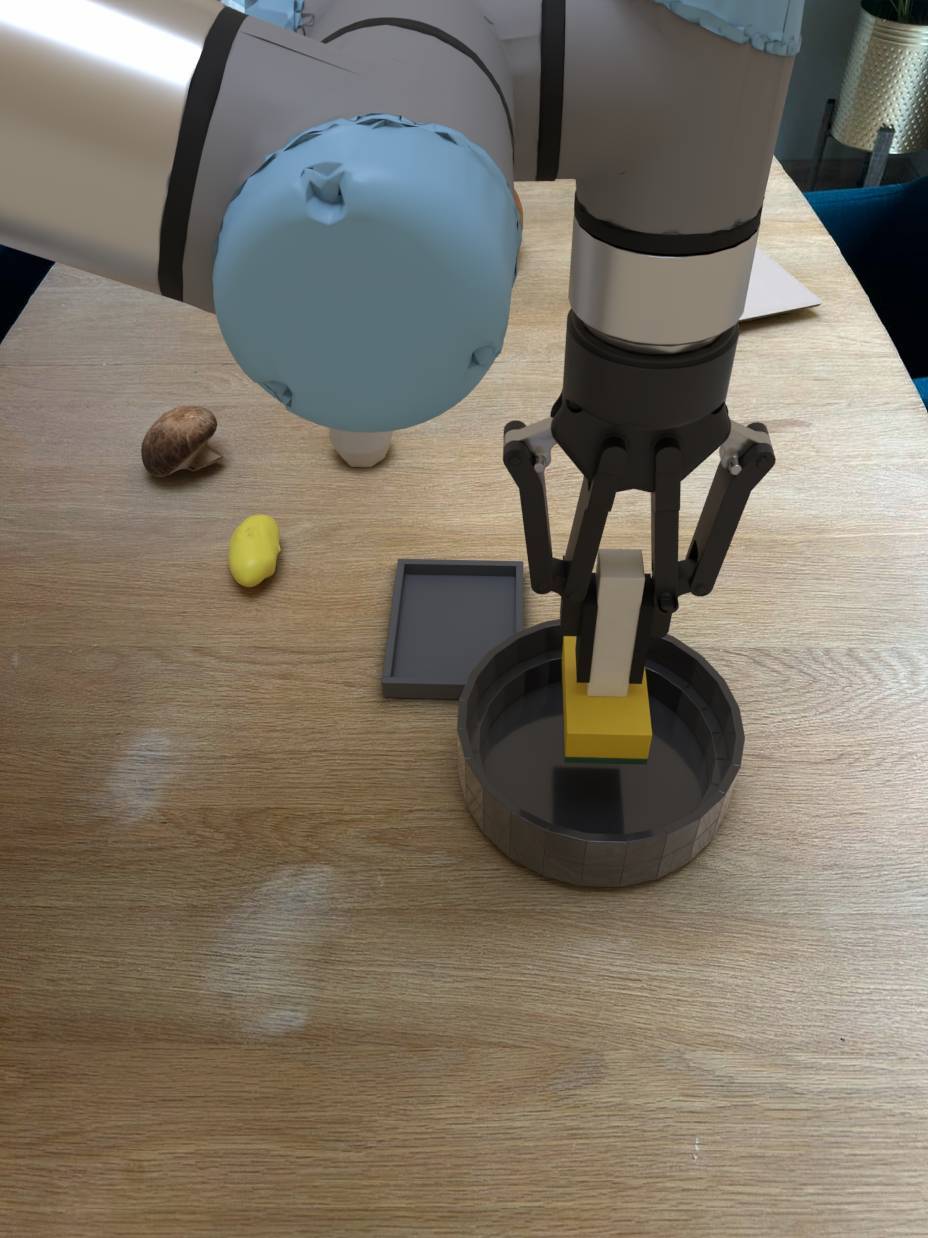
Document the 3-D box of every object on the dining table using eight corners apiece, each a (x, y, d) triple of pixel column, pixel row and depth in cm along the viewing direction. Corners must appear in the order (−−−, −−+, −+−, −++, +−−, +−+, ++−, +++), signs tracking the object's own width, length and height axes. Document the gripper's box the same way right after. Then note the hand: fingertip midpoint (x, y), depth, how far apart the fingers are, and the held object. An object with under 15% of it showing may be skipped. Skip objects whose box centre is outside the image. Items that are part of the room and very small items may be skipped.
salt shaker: (325, 444, 95) (307, 320, 85) (382, 430, 96) (371, 306, 87) (343, 479, 91) (327, 353, 82) (402, 464, 92) (393, 339, 83)
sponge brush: (646, 765, 61) (675, 616, 51) (564, 763, 61) (577, 615, 52) (636, 666, 66) (660, 515, 57) (561, 664, 67) (573, 514, 57)
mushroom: (251, 440, 90) (200, 389, 87) (191, 505, 88) (137, 455, 85) (227, 437, 97) (178, 389, 94) (170, 497, 95) (119, 450, 92)
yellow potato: (292, 535, 86) (285, 500, 83) (272, 601, 80) (264, 566, 78) (244, 533, 86) (236, 498, 83) (221, 599, 81) (211, 564, 78)
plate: (666, 349, 106) (669, 331, 104) (594, 270, 118) (595, 253, 116) (820, 317, 110) (825, 300, 108) (734, 244, 122) (738, 227, 120)
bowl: (404, 767, 69) (399, 712, 65) (584, 634, 77) (590, 579, 73) (601, 951, 60) (610, 902, 55) (782, 777, 68) (802, 723, 64)
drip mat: (522, 701, 73) (522, 686, 72) (383, 697, 73) (381, 682, 72) (522, 575, 82) (523, 560, 81) (399, 573, 82) (397, 558, 81)
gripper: (816, 269, 46) (728, 623, 63) (479, 268, 46) (482, 619, 63) (853, 358, 41) (746, 718, 57) (472, 355, 41) (478, 712, 58)
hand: (608, 665), depth 60 cm, fingers closed on sponge brush, 2 cm apart
